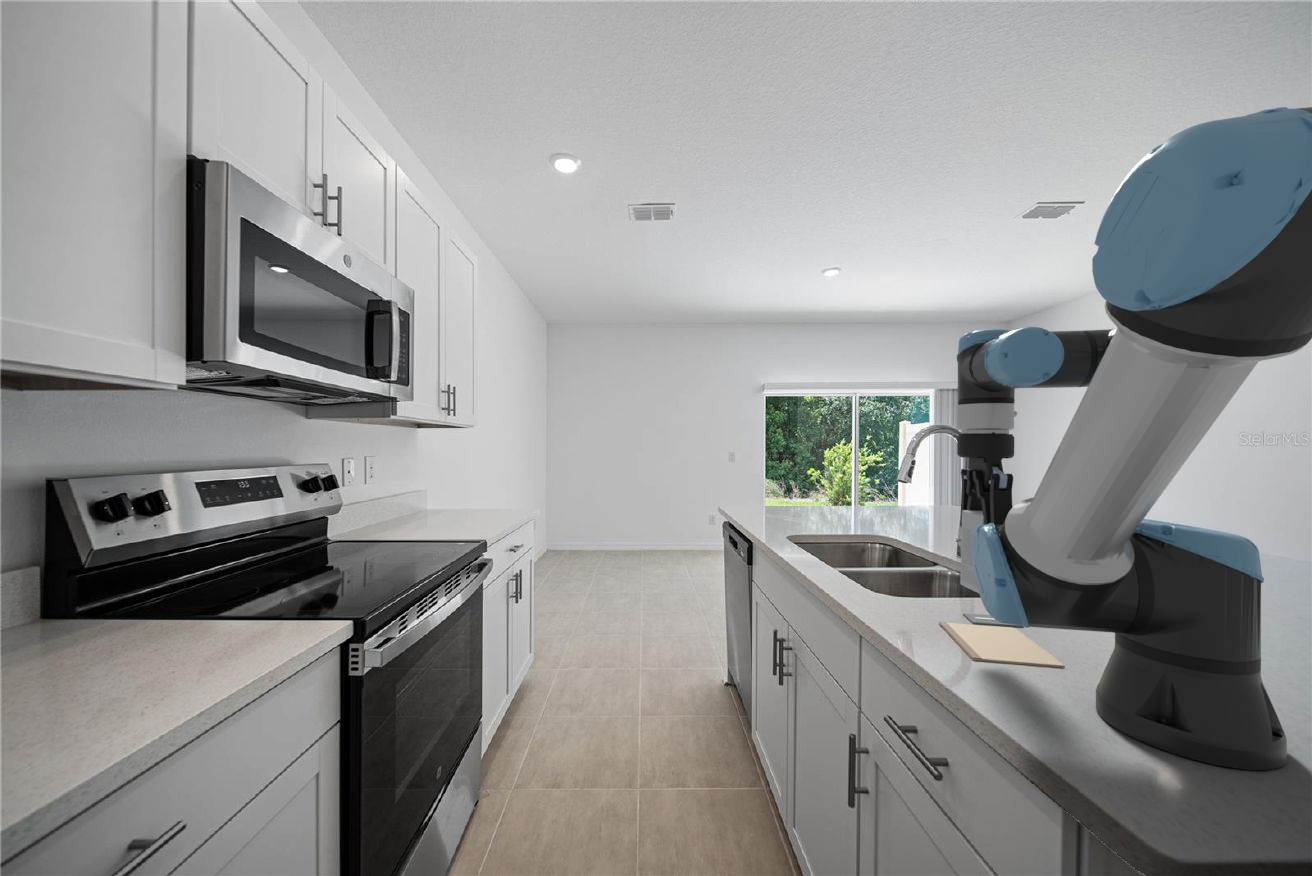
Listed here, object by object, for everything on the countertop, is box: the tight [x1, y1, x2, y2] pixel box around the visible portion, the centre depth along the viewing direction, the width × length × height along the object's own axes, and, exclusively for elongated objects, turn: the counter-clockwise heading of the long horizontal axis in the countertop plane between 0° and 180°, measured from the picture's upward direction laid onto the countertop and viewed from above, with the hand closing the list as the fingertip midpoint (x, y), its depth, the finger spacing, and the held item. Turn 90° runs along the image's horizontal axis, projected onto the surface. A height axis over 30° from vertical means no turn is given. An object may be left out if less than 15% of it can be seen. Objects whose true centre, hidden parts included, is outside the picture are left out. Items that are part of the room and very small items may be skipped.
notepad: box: [938, 621, 1066, 668], centre depth 85 cm, size 16×12×1 cm
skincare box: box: [959, 510, 984, 594], centre depth 82 cm, size 6×4×12 cm
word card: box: [962, 612, 1024, 628], centre depth 96 cm, size 5×8×1 cm, turn 78°
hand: (984, 581), depth 82 cm, fingers closed on skincare box, 6 cm apart
